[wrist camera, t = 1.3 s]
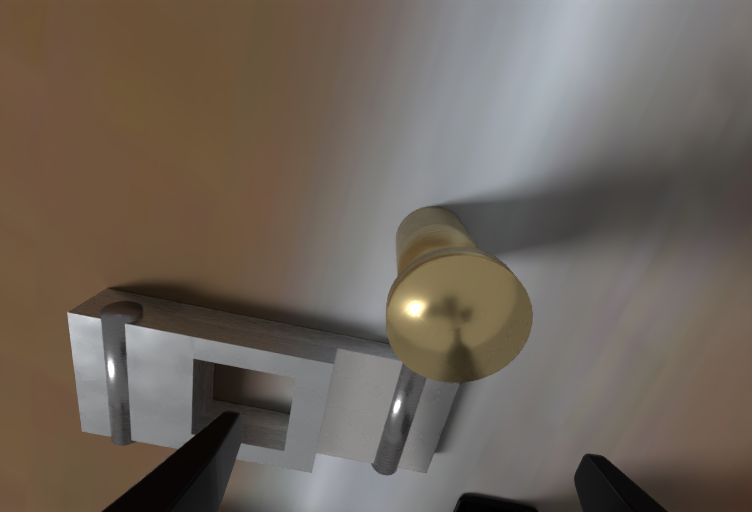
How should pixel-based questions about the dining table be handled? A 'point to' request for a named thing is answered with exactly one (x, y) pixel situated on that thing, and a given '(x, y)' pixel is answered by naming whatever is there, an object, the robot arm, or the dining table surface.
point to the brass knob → (453, 302)
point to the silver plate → (255, 352)
